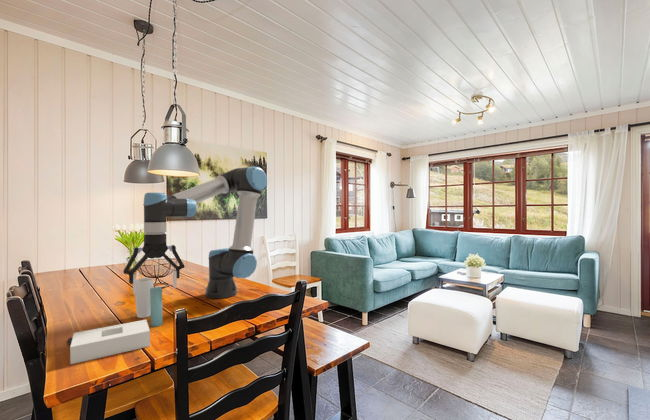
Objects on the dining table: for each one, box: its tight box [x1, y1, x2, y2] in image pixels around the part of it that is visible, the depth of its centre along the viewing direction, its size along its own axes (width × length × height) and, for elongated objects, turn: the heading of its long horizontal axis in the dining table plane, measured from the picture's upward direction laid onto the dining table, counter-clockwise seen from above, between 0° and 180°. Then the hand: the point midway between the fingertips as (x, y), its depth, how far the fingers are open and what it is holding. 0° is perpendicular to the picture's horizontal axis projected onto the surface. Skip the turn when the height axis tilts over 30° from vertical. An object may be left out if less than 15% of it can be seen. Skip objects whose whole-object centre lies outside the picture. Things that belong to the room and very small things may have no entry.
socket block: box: [69, 319, 151, 365], centre depth 100 cm, size 20×12×5 cm, turn 125°
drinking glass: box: [134, 277, 154, 319], centre depth 128 cm, size 7×7×15 cm
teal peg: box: [150, 286, 164, 328], centre depth 119 cm, size 4×4×14 cm
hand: (155, 289), depth 118 cm, fingers open, 13 cm apart
